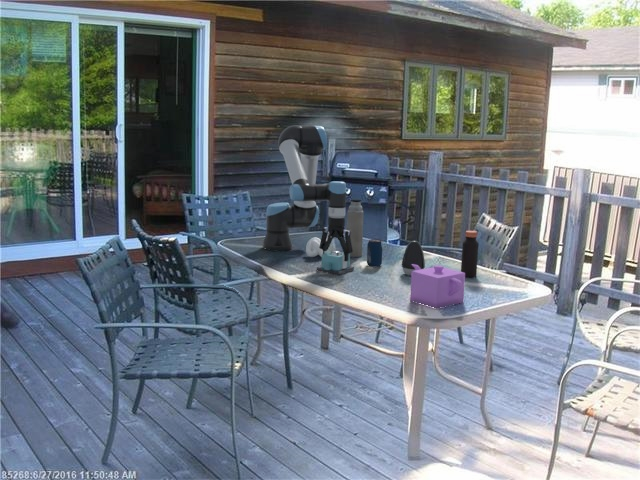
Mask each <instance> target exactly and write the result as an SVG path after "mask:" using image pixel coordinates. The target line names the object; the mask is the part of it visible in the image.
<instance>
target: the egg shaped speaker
mask: <svg viewBox="0 0 640 480" xmlns="http://www.w3.org/2000/svg"><path fill="white" fill-rule="evenodd" d="M411 264H415V265H418V266H419V267H420V269H426V268H425V267H426V259H425V254H424V250H423V247H422V245H421V243H420V242H419V241H418V240H411V241H410V242H409V243H408V244H407V245H406V247H405V250H404V253H403V256H402V260H401V267H402V271H403V273H404V274H405V275H407V276H410V277H411V274H412V271H415V268H414V267H413V266H412V265H411Z"/></svg>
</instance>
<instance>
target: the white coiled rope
mask: <svg viewBox="0 0 640 480" xmlns="http://www.w3.org/2000/svg"><path fill="white" fill-rule="evenodd" d="M327 239H328V238H327ZM327 239H326V241H327ZM320 242H321V238H318V237H315V236H314V237H312V238H310V239H308V241H307V243H306V245H305V246H306V247H305V253H306V255H307V256H308V257H309V258H315V257H317V256H320V258H322V254H323V250H322V249H320V248H319V247H320ZM330 247H331V245H330V246H329V248H328V250H329V249H330Z"/></svg>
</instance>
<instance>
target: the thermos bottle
mask: <svg viewBox="0 0 640 480" xmlns="http://www.w3.org/2000/svg"><path fill="white" fill-rule="evenodd" d="M361 201H362V199H357V198H353V199H351V200H350V205H349V206H348V210H347V213H346V215H347V217H346V219H347V220H346V230H347V231H349V230H350V231H351V233H350V238H351V244H352V250H353V252H352V253H349V254H350V258H351V257H352V258H357V257H358V258H359V257H362V256H363V242H364V241H363V237H364V235H363V234H364V233H363V232H364V210H363V206H362V205H361V204H362V203H361Z"/></svg>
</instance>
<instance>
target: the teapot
mask: <svg viewBox="0 0 640 480" xmlns="http://www.w3.org/2000/svg"><path fill="white" fill-rule="evenodd" d="M411 265H412V266H413V267H414V268H415V271H412V274H411V276H410V278H411V279H410V296H409V297H410V298H409V300H410V302H411V301H414V302H413V303H415V302H417V303H416V304H418V303H421V304H424V305H428V306H431V307H434V308H440V307H444V308H446V307H445V306H448V307H450V306H449V305H452V306H454V305H453V304H456V305H460V304H463V303H464V295H465V281H466V280H465V279H466V277H465V273H464V272H461V270H460V271H459V270H455V269H451V268H447V267H445V266H443V265H440V264H435V265H433V266H432V267H428V268H424V269H420V267H419V266H418V265H415V264H411ZM459 303H460V304H459ZM421 304H420V305H421ZM424 305H423V306H424ZM440 309H441V308H440Z"/></svg>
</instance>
